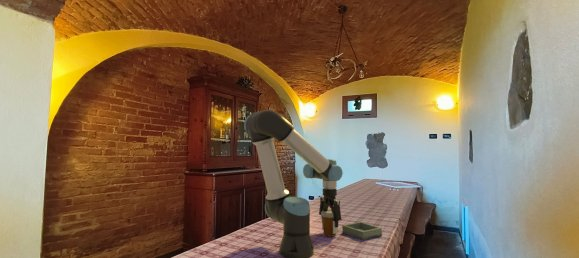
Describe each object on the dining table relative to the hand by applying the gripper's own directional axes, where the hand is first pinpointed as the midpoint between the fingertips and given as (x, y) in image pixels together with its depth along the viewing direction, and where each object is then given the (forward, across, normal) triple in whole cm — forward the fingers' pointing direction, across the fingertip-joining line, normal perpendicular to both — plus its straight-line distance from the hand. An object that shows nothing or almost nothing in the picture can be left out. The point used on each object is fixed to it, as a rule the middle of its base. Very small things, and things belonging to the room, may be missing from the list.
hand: (329, 231), depth 156 cm
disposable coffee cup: (+2, 0, 0) cm, 2 cm away
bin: (+2, -8, -15) cm, 17 cm away
